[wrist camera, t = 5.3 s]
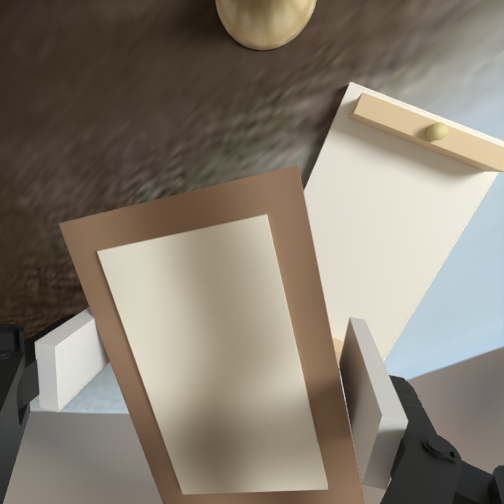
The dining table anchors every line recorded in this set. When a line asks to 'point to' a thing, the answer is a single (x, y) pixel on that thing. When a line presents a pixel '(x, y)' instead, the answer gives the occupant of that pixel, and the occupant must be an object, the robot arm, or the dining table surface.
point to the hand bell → (264, 20)
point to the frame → (222, 342)
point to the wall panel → (391, 207)
